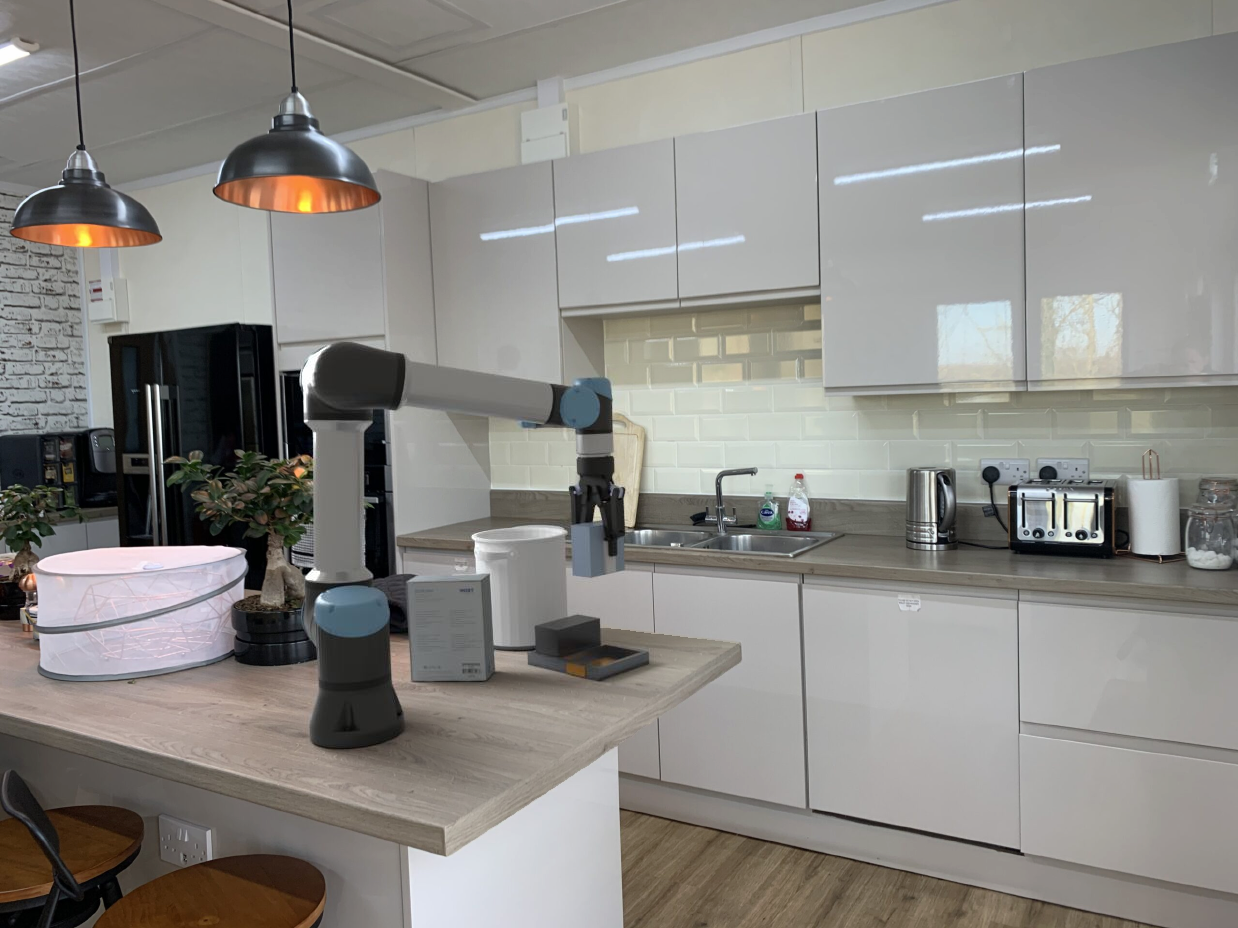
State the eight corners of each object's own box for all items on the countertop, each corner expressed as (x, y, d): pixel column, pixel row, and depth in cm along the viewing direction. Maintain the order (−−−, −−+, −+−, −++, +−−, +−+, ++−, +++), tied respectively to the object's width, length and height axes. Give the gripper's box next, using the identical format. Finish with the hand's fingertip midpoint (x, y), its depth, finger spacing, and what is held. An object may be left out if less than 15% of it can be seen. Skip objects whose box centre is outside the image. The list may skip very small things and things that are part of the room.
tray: (598, 681, 179) (596, 640, 178) (527, 664, 192) (525, 626, 192) (649, 663, 190) (647, 624, 190) (578, 648, 203) (577, 612, 203)
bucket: (525, 659, 196) (521, 543, 195) (449, 647, 208) (444, 538, 207) (594, 632, 218) (591, 528, 216) (522, 623, 230) (518, 524, 228)
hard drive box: (496, 670, 189) (492, 572, 187) (487, 681, 181) (483, 580, 180) (421, 670, 190) (416, 573, 189) (409, 682, 182) (404, 581, 181)
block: (590, 577, 182) (589, 526, 181) (572, 575, 185) (570, 525, 184) (624, 570, 189) (623, 521, 189) (606, 567, 192) (605, 519, 192)
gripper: (641, 454, 182) (646, 572, 184) (576, 453, 194) (580, 564, 196) (616, 457, 177) (620, 578, 178) (550, 456, 189) (554, 569, 190)
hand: (599, 570), depth 187 cm, fingers closed on block, 5 cm apart
